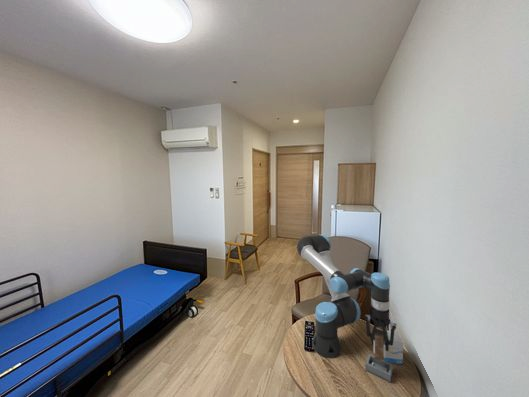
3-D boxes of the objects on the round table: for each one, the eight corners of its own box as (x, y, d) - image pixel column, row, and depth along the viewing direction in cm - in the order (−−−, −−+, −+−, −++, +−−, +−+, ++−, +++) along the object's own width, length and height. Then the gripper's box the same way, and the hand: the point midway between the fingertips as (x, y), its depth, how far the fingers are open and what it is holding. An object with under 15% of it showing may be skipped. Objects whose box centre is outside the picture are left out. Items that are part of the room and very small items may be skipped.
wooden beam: (374, 358, 101) (374, 332, 100) (376, 353, 103) (376, 328, 102) (383, 362, 98) (383, 335, 97) (384, 357, 101) (384, 331, 100)
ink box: (403, 364, 105) (403, 342, 104) (384, 362, 106) (384, 340, 105) (396, 351, 113) (396, 330, 112) (378, 349, 115) (379, 328, 114)
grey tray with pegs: (365, 370, 102) (365, 363, 102) (368, 360, 108) (368, 353, 108) (390, 382, 96) (390, 375, 95) (392, 371, 101) (392, 364, 101)
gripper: (359, 304, 101) (359, 350, 103) (400, 317, 91) (399, 368, 93) (363, 297, 107) (363, 341, 109) (401, 309, 97) (401, 356, 99)
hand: (379, 353), depth 101 cm, fingers closed on wooden beam, 3 cm apart
